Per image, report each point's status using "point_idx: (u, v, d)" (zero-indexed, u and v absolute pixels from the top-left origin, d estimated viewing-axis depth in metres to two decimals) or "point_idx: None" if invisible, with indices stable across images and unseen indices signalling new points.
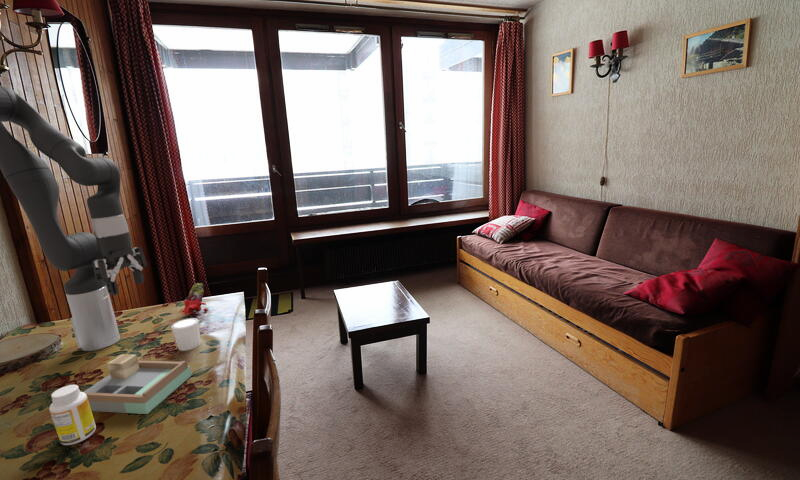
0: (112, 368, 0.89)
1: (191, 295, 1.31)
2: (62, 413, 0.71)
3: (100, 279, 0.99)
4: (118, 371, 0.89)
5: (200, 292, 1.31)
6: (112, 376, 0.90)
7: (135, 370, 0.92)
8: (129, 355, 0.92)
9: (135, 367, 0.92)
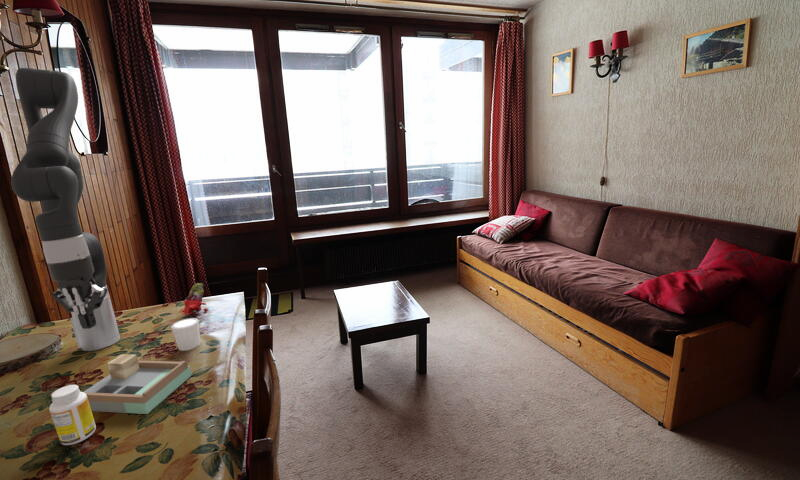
0: (112, 368, 0.89)
1: (191, 295, 1.31)
2: (62, 413, 0.71)
3: (95, 306, 0.88)
4: (118, 371, 0.89)
5: (200, 292, 1.31)
6: (112, 376, 0.90)
7: (135, 370, 0.92)
8: (129, 355, 0.92)
9: (135, 367, 0.92)
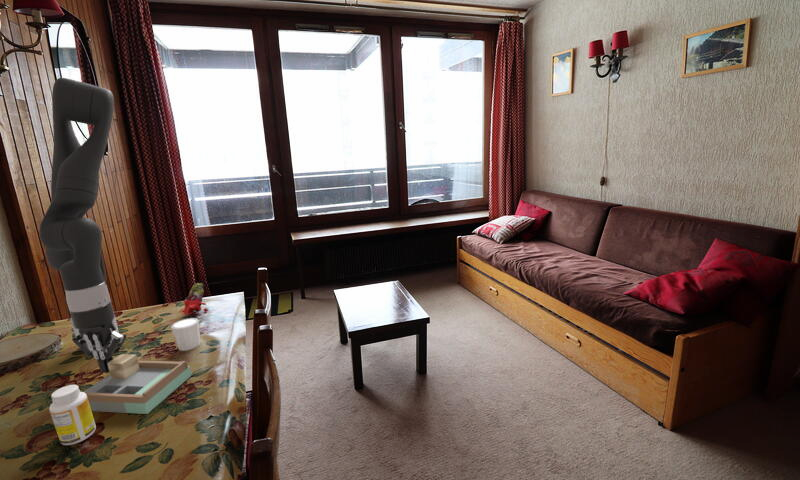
0: (112, 368, 0.89)
1: (191, 295, 1.31)
2: (62, 413, 0.71)
3: (114, 351, 0.90)
4: (118, 371, 0.89)
5: (200, 292, 1.31)
6: (112, 376, 0.90)
7: (135, 370, 0.92)
8: (129, 355, 0.92)
9: (135, 367, 0.92)
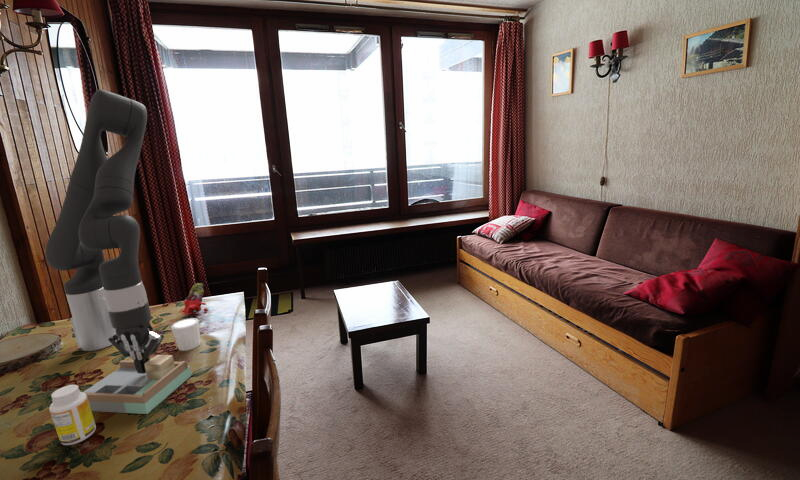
0: (149, 368, 0.88)
1: (191, 295, 1.31)
2: (62, 413, 0.71)
3: (151, 351, 0.89)
4: (155, 372, 0.88)
5: (200, 292, 1.31)
6: (149, 377, 0.88)
7: None
8: (165, 356, 0.90)
9: (171, 368, 0.90)
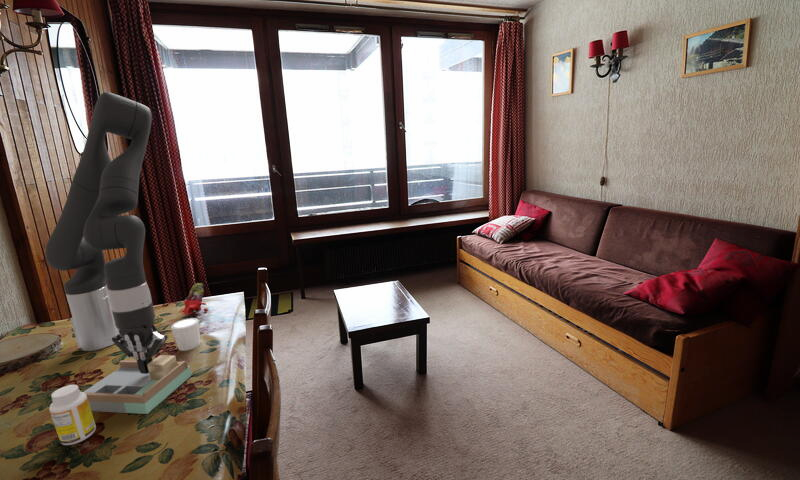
0: (152, 369, 0.87)
1: (191, 295, 1.31)
2: (62, 413, 0.71)
3: (154, 352, 0.88)
4: (158, 373, 0.87)
5: (200, 292, 1.31)
6: (152, 377, 0.88)
7: None
8: (168, 356, 0.90)
9: None
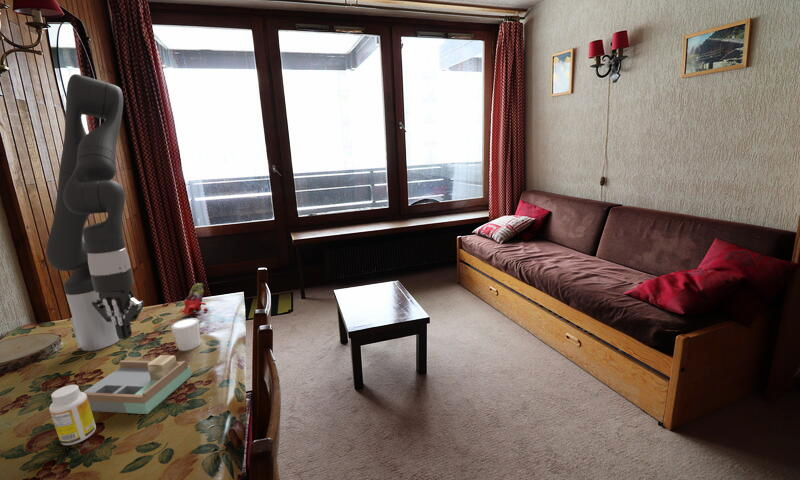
0: (152, 369, 0.87)
1: (191, 295, 1.31)
2: (62, 413, 0.71)
3: (131, 318, 0.90)
4: (158, 372, 0.87)
5: (200, 292, 1.31)
6: (152, 377, 0.88)
7: None
8: (168, 356, 0.90)
9: None
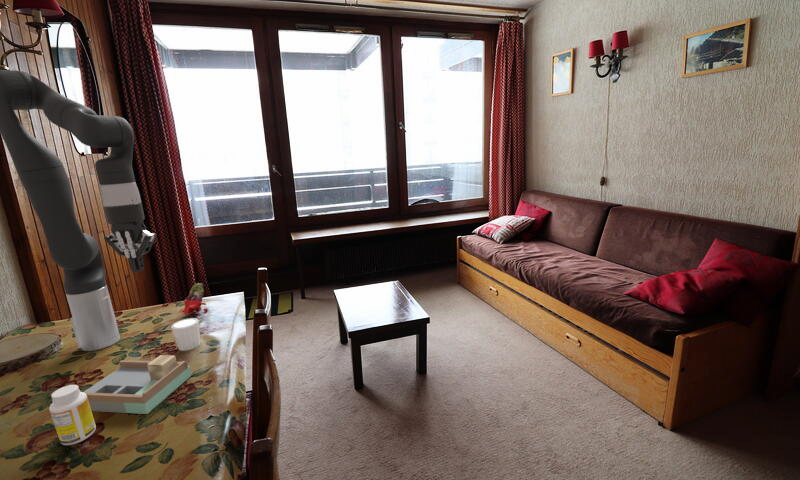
0: (152, 369, 0.87)
1: (191, 295, 1.31)
2: (62, 413, 0.71)
3: None
4: (158, 372, 0.87)
5: (200, 292, 1.31)
6: (152, 377, 0.88)
7: None
8: (168, 356, 0.90)
9: None
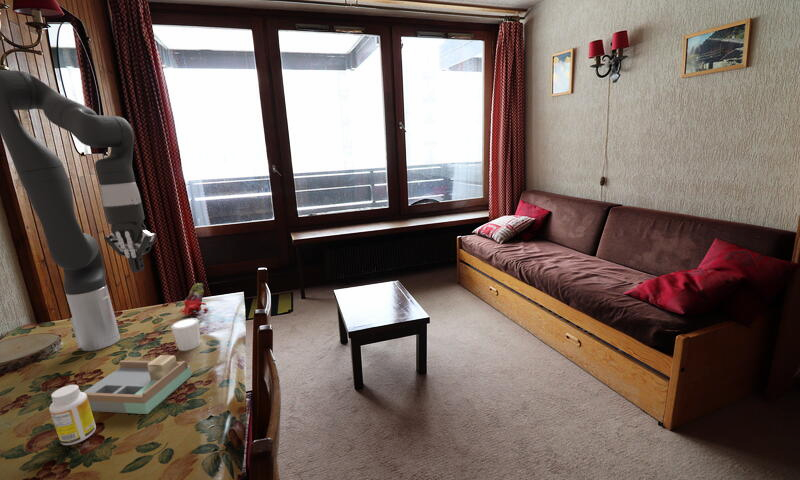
0: (152, 369, 0.87)
1: (191, 295, 1.31)
2: (62, 413, 0.71)
3: None
4: (158, 372, 0.87)
5: (200, 292, 1.31)
6: (152, 377, 0.88)
7: None
8: (168, 356, 0.90)
9: None
